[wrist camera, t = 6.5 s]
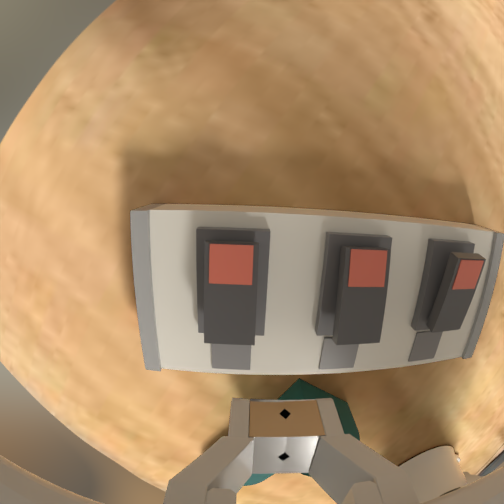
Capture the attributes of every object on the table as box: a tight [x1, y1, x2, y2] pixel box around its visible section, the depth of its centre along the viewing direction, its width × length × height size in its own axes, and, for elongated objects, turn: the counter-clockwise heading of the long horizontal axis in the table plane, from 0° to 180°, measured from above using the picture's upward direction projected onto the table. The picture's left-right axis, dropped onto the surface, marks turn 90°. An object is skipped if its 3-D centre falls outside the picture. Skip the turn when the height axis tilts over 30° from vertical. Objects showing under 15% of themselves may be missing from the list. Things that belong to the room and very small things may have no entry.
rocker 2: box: [332, 246, 391, 345], centre depth 17 cm, size 6×3×1 cm, turn 178°
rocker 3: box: [426, 252, 486, 333], centre depth 18 cm, size 6×3×1 cm, turn 177°
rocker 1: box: [204, 240, 259, 345], centre depth 17 cm, size 6×3×1 cm, turn 178°
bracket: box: [243, 378, 360, 486], centre depth 25 cm, size 18×7×8 cm, turn 144°
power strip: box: [130, 204, 504, 375], centre depth 21 cm, size 12×29×5 cm, turn 88°
